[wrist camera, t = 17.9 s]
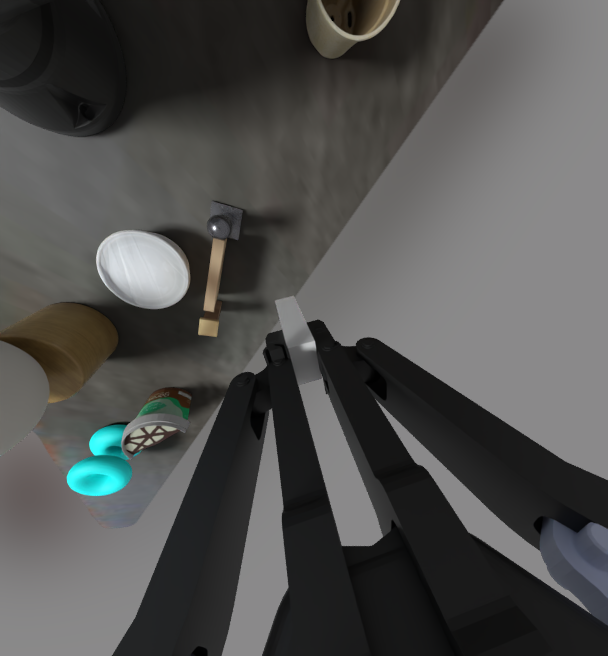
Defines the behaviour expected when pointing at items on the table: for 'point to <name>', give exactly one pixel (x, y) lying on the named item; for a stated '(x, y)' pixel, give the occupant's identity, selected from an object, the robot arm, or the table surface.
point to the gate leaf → (214, 273)
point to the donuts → (102, 465)
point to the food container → (157, 420)
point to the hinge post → (224, 221)
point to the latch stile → (210, 321)
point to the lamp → (48, 363)
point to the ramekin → (143, 268)
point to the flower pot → (345, 23)
